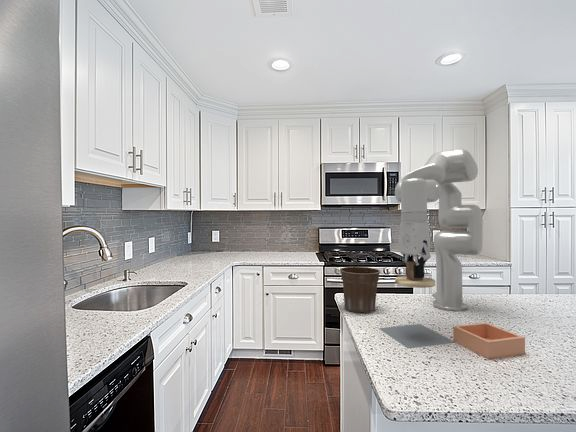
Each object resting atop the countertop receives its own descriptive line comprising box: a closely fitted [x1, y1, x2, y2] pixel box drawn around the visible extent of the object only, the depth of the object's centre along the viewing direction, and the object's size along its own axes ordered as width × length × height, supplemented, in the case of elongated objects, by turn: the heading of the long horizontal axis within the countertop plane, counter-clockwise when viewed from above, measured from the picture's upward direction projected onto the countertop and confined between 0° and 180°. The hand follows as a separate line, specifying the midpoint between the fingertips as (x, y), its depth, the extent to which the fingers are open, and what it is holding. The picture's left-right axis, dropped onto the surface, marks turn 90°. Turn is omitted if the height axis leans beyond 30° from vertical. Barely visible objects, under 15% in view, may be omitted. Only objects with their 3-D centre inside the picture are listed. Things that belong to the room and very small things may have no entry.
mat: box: [378, 323, 457, 349], centre depth 95 cm, size 16×16×1 cm
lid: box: [394, 260, 436, 289], centre depth 95 cm, size 12×12×7 cm
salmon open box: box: [452, 322, 526, 360], centre depth 86 cm, size 12×12×5 cm
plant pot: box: [339, 266, 381, 314], centre depth 125 cm, size 16×16×16 cm
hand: (414, 276), depth 95 cm, fingers closed on lid, 3 cm apart
